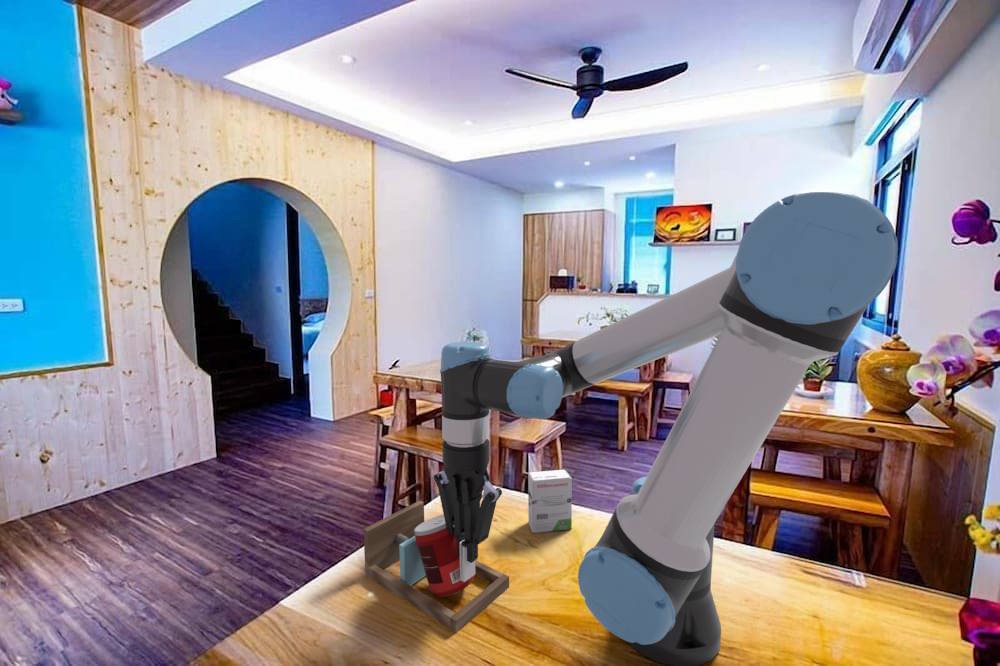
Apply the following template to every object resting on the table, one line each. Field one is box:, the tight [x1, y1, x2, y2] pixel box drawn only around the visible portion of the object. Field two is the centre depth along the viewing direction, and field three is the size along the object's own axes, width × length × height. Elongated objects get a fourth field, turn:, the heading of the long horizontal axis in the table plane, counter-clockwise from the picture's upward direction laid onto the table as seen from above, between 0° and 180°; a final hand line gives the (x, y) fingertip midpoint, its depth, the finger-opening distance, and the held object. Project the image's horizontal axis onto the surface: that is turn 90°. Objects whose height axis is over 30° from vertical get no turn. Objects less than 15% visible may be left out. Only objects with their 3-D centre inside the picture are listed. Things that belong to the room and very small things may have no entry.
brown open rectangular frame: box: [363, 500, 510, 634], centre depth 84 cm, size 22×13×9 cm, turn 52°
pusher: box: [399, 536, 426, 587], centre depth 86 cm, size 3×10×8 cm, turn 142°
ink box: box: [527, 469, 573, 534], centre depth 102 cm, size 9×5×12 cm, turn 99°
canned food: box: [414, 513, 475, 598], centre depth 82 cm, size 8×8×11 cm
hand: (467, 576), depth 79 cm, fingers closed
